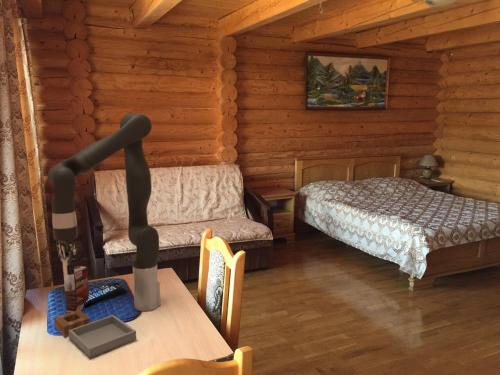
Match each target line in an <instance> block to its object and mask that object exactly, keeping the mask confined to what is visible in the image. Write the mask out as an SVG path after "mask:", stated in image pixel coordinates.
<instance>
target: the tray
mask: <svg viewBox="0 0 500 375" xmlns="http://www.w3.org/2000/svg"><path fill="white" fill-rule="evenodd" d="M68 340H69V342H70V343H72V344H73V345H74V346H75V347H76V348H77V349H78V350H79V351H80V352H81V353H82V354H84V355H85V356H86V357H87V358H88V360H92V359H95V358H97V357H100V356H102V355H104V354H106V353H107V354H108V353H111V352H112V351H115V350H117V349H119V348H122V347H124V346H126V345H129V344H131V343H134V342H136V341H137V331H136V330H135V329H134V328H132V327H131V326H129V324H127V323H125V322H124V321H123V320H121V319H119V318H118V317H117V316H116V315H114V314H111V315H108V316H106V317H103V318H99V319H97V320H95V321H94V320H93V321H90V323H88V324H85V325H82V326H80V327H77V328H74V329H71V330H69V336H68Z"/></svg>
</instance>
